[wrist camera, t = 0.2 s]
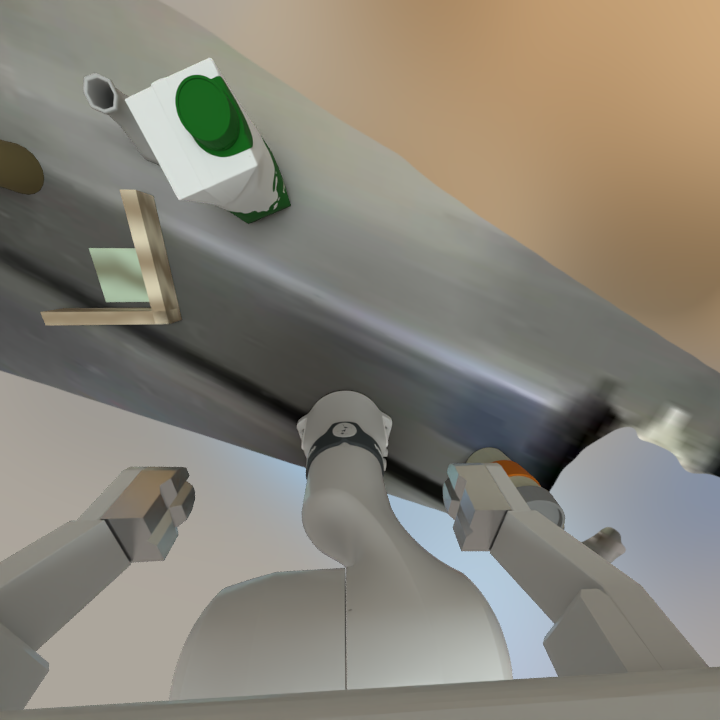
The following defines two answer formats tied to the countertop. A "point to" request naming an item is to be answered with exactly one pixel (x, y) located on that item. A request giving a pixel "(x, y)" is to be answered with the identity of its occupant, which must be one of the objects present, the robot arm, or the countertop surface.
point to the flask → (116, 110)
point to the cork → (19, 169)
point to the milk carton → (209, 143)
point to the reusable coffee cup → (523, 484)
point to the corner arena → (130, 274)
